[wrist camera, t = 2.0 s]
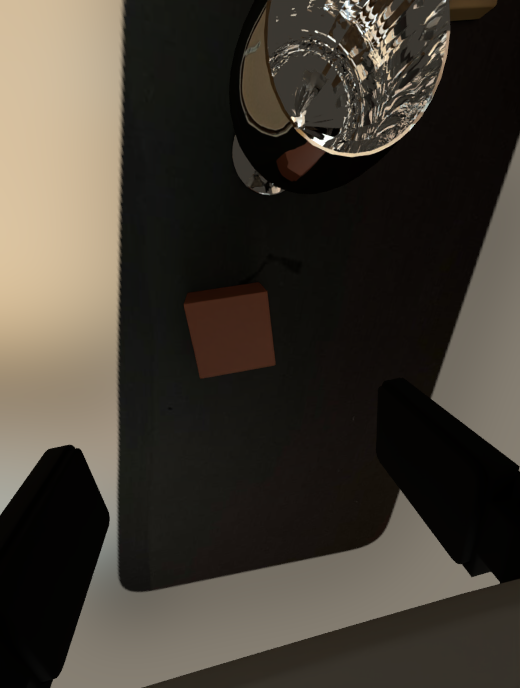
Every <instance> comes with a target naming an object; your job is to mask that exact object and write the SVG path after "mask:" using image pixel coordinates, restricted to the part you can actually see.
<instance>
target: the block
mask: <svg viewBox="0 0 520 688" xmlns="http://www.w3.org/2000/svg"><path fill="white" fill-rule="evenodd" d="M184 309H185V313H186V318H187V322H188V327H189V331H190V335H191V340H192V344H193V349H194V353H195V358H196V362H197V366H198V371H199V375H200V378H201V379H202V378H207V377H213V376H218V375H224V374H229V373H235V372H240V371H246V370H251V369H257V368H263V367H268V366H274V365H275V355H274V346H273V337H272V328H271V319H270V311H269V302H268V293H267V291H266V290H265V288H264V287H263V286H262V285H261V284H260V283H259V282H256V283H250V284H243V285H237V286H230V287H224V288H217V289H210V290H204V291H197V292H191V293H187V296H186V299H185V302H184Z"/></svg>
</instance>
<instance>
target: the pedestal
mask: <svg viewBox="0 0 520 688" xmlns="http://www.w3.org/2000/svg"><path fill="white" fill-rule="evenodd" d="M496 3H497V0H449V5H450V21H457V20H471V19H479V18H481V17H482V16H483V15H485V14H486V13H487V12H488V11H490V10H491V9H492V8H494V7H495V6H496Z"/></svg>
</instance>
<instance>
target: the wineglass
mask: <svg viewBox="0 0 520 688" xmlns="http://www.w3.org/2000/svg"><path fill="white" fill-rule="evenodd" d="M449 35H450V5H449V0H254V2H253V4H252V6H251V8H250V11H249V13H248V15H247V17H246V19H245V21H244V24H243V26H242V29H241V32H240V35H239V38H238V41H237V45H236V48H235V51H234V56H233V61H232V66H231V71H230V82H229V104H230V113H231V118H232V123H233V128H234V132H235V136H234V139H233V145H232V160H233V164H234V168H235V170H236V173H237V175H238V177H239V178H240V180H241V181H242V183H243V184H244V185H245V186H246V187H247V188H249V189H250V190H252V191H253V192H255V193H258V194H261V195H267V196H271V195H277V194H280V193H282V192H284V191H289V192H293V193H297V194H317V193H322V192H327V191H330V190H333V189H335V188H338V187H341V186H343V185H345V184H347V183H349V182H351V181H352V180H354V179H356V178H357V177H359V176H361V175H362V174H363V173H364V172H366V171H367V170H368V169H370V168H371V167H372V166H374V165H375V164H376V163H378V162H379V161H380V160H381V159H382V158H383V157H384V156H385V155H386V154H387V153H388V152H389V151H390V150H391V149H392V148H393V147H394V146H395V145H396V144H397V143H398V142H399V141H400V139H401V138H402V137H403V136H404V135H405V134H406V133H407V132H408V131H409V130H410V129H411V128H412V127H413V126H414V125H415V123H416V122H417V121H418V120H419V119H420V117H421V116H422V115H423V113H424V111H425V110H426V108H427V106H428V105H429V103H430V102H431V100H432V98H433V96H434V93H435V91H436V89H437V86H438V84H439V82H440V79H441V76H442V72H443V69H444V65H445V61H446V57H447V52H448V44H449Z"/></svg>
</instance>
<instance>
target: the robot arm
mask: <svg viewBox="0 0 520 688" xmlns="http://www.w3.org/2000/svg"><path fill="white" fill-rule="evenodd" d="M376 453H377V457H378V459H379V461H380V463H381V464H382V465H383V467H384V468H385V469H386V471H387V472H388V474H389V475H390V476H391V478H392V479H393V480H394V482H395V483H396V484H397V486H398V487H399V488H400V490H401V491H402V492H403V493H404V495H405V496H406V498H407V499H408V500H409V502H410V503H411V504H412V506H413V507H414V508H415V510H416V511H417V512H418V514H419V515H420V516H421V518H422V519H423V521H424V522H425V523H426V524H427V526H428V527H429V529H430V530H431V531H432V533H433V534H434V535H435V537H436V538H437V539H438V541H439V542H440V543H441V545H442V546H443V547H444V549H445V550H446V551H447V553H448V554H449V555H450V557H451V558H452V559H453V560H454V561H455V562H456V563H458V564H462V565H463V566H464V567H465V569H466V570H467V571H468V573H469V574H470V575H471V577H474V576H477V575H481V574H484V573H488V572H492V573H493V574H494V575H495V576H496V578H497V579H498V580H499V581H500V584H498V585H495V586H490V587H487V588H483V589H479V590H475V591H471V592H468V593H464V594H460V595H456V596H453V597H450V598H446V599H443V600H439V601H436V602H432V603H429V604H425V605H422V606H418V607H415V608H411V609H408V610H404V611H401V612H397V613H394V614H391V615H387V616H384V617H380V618H377V619H373V620H370V621H366V622H363V623H359V624H356V625H353V626H349V627H346V628H342V629H339V630H335V631H332V632H328V633H325V634H322V635H318V636H315V637H312V638H308V639H305V640H301V641H298V642H294V643H291V644H288V645H284V646H281V647H277V648H274V649H271V650H267V651H264V652H261V653H257V654H254V655H250V656H247V657H243V658H240V659H237V660H233V661H230V662H227V663H223V664H220V665H216V666H213V667H210V668H206V669H203V670H200V671H196V672H193V673H190V674H186V675H183V676H180V677H176V678H173V679H170V680H167V681H163V682H160V683H157V684H153V685H150V686H147V687H143V688H520V472H519V471H518V470H519V466H518V465H517V464H516V463H514V462H513V461H512V460H510V459H509V458H508V457H506V456H505V455H504V454H503V453H501V452H500V451H499V450H497V449H496V448H495V447H493V446H492V445H491V444H489V443H488V442H487V441H485V440H484V439H482V438H481V437H480V436H479V435H477V434H476V433H475V432H474V431H472V430H471V429H470V428H468V427H467V426H466V425H464V424H463V423H462V422H460V421H459V420H458V419H457V418H455V417H454V416H453V415H451V414H450V413H449V412H447V411H446V410H444V409H443V408H442V407H441V406H439V405H438V404H437V403H436V402H434V401H433V400H432V399H430V398H429V397H428V396H426V395H425V394H424V393H422V392H421V391H420V390H418V389H417V388H416V387H414V386H413V385H412V384H411V383H409V382H408V381H407V380H405V379H404V378H397V379H392V380H387V381H384V382H383V384H382V386H380V387H379V389H378V412H377V442H376ZM109 521H110V517H109V512H108V509H107V507H106V505H105V503H104V500H103V498H102V496H101V494H100V491H99V489H98V487H97V485H96V483H95V480H94V478H93V476H92V473H91V471H90V469H89V467H88V464H87V462H86V460H85V458H84V455H83V453H82V451H81V450H80V449H79V448H76V449H75V447H74V446H72V445H66V446H61V447H57V448H52V449H48V450H47V451H46V452H45V453H44V454H43V456H42V457H41V459H40V460H39V462H38V463H37V465H36V466H35V467H34V469H33V470H32V471H31V473H30V474H29V476H28V477H27V478H26V480H25V481H24V483H23V484H22V486H21V487H20V488H19V490H18V491H17V492H16V494H15V495H14V497H13V498H12V499H11V501H10V502H9V504H8V505H7V507H6V508H5V509H4V511H3V512H2V514H1V515H0V688H50V687H51V684H52V681H53V679H55V678H57V677H58V676H59V674H60V672H61V671H62V668H63V665H64V662H65V660H66V656H67V653H68V650H69V647H70V644H71V641H72V638H73V635H74V632H75V628H76V625H77V622H78V619H79V616H80V613H81V610H82V607H83V604H84V601H85V598H86V594H87V591H88V588H89V585H90V582H91V579H92V576H93V573H94V570H95V567H96V564H97V561H98V557H99V554H100V551H101V548H102V545H103V542H104V539H105V535H106V533H107V529H108V526H109Z"/></svg>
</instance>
